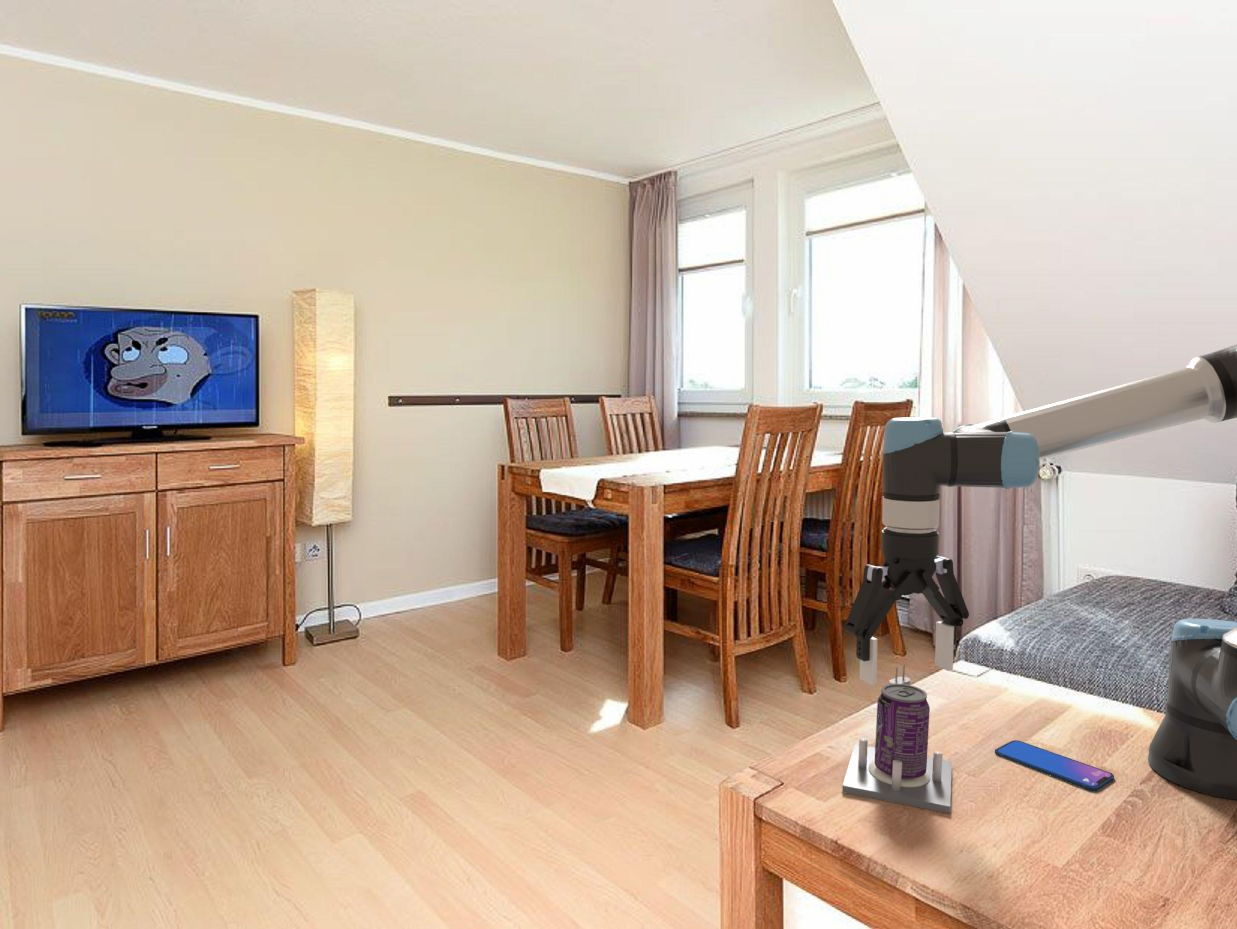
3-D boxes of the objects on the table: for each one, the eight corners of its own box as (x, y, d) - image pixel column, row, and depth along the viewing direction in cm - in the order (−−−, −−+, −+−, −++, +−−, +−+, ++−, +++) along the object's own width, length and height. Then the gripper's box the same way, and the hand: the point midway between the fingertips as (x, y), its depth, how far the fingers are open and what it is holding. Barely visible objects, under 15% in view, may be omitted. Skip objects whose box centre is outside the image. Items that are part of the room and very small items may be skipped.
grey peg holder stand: (951, 767, 121) (953, 735, 120) (949, 813, 108) (951, 778, 108) (854, 749, 126) (856, 719, 126) (842, 792, 114) (843, 758, 113)
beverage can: (889, 754, 122) (893, 678, 121) (934, 772, 117) (939, 692, 116) (864, 770, 117) (868, 690, 116) (911, 788, 112) (915, 706, 111)
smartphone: (1015, 738, 130) (1117, 774, 118) (1014, 743, 130) (1116, 780, 118) (991, 750, 126) (1095, 789, 114) (991, 756, 126) (1094, 795, 114)
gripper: (958, 516, 121) (954, 654, 123) (819, 530, 112) (817, 678, 114) (998, 525, 114) (993, 670, 116) (854, 540, 105) (851, 697, 107)
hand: (906, 674), depth 115 cm, fingers open, 13 cm apart
